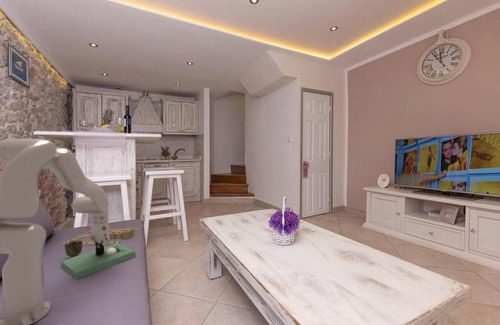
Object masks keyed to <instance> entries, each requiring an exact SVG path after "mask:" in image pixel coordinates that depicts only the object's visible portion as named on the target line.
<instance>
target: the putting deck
mask: <svg viewBox="0 0 500 325" xmlns="http://www.w3.org/2000/svg"><path fill="white" fill-rule="evenodd" d="M109 248H115V249H116V251H117V253H115V254H112V255H107V254H105V253H106V251H107V250H108V249H109ZM78 255H79V256H76V257H72V258H70V257H69V258H66V259H63V260H61V261H60V267H61V269H63V270H64V271H65V272H66V273H68V274H69V275H70V276H71V277H73V278H74V279H75V280H79V279H81V278H84V277H86V276H89V275H91V274H94V273H97V272H100V271H102V270H105V269H107V268H110V267H112V266H115V265H117V264H120V263H122V262H125V261H128V260H131V259H133V258H135V257H136V250H134V249H132V248H130V247H128V246H126V245H124V244H122V243H121V242H120V243H116V244H113V245H106V246H104V254H103V255H100V256H97V255H96V249H95V250H92V251H89V252H86V253H82V254H78Z"/></svg>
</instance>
